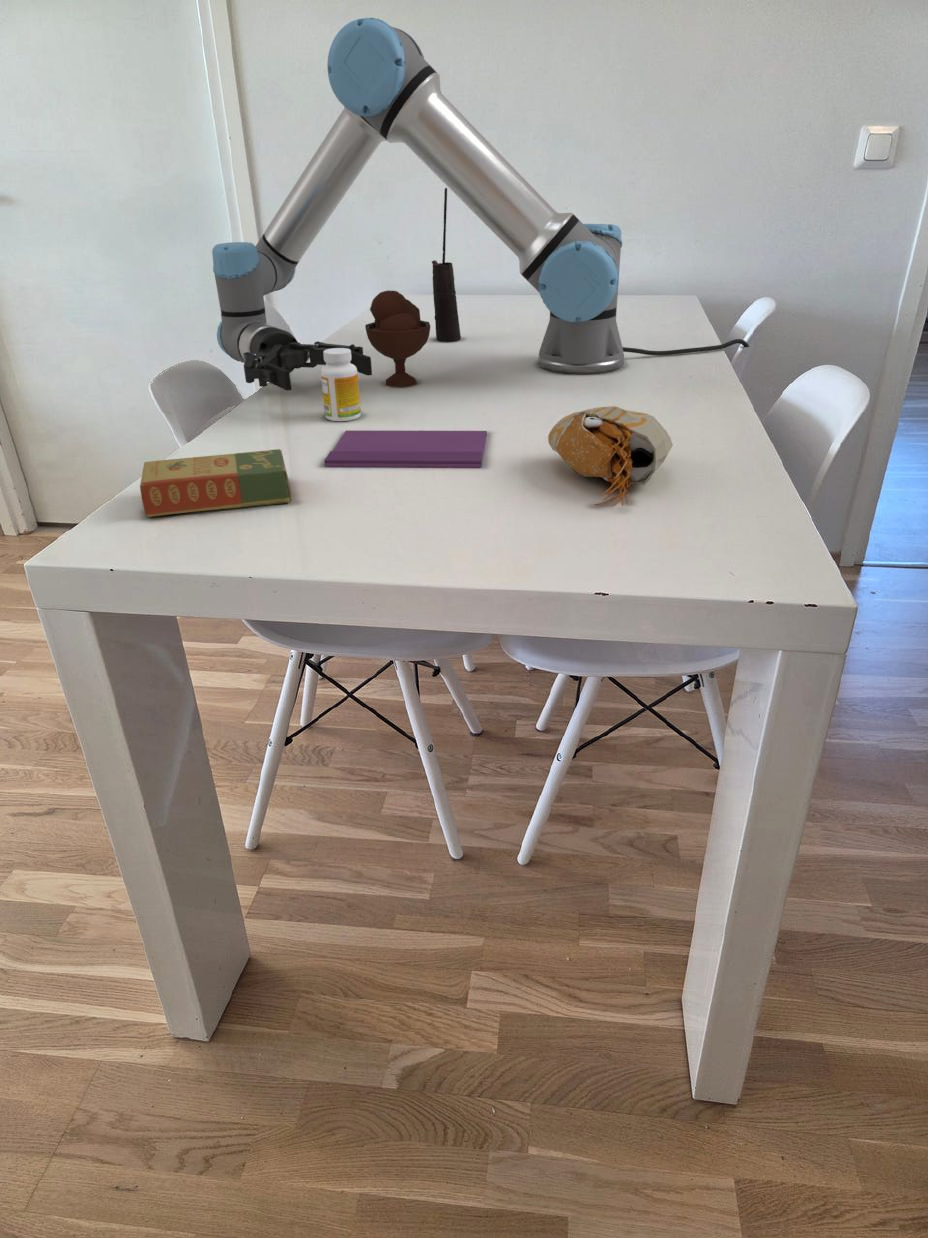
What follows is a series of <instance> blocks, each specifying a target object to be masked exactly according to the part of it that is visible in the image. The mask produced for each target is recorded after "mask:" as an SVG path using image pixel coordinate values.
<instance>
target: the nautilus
mask: <svg viewBox="0 0 928 1238" xmlns="http://www.w3.org/2000/svg"><path fill="white" fill-rule="evenodd" d="M547 440H548V442H547V443H548V445H549V446H550V448H551V450H552V451H554V452H556V453H557V454H558V455H559V457H561V459H562V460H563V461H564V462H565V463H566V464H567V465H568V466H569V467H570V468H571V469H573V471H574V473H577V474H580V475H582V476H583V477H584V478H586V477H588V478H589V477H595V478H602V479H603V480H604V481H606V482H610V483H611V486H610V487H609V488H607V489H606V490H605V491H604V492H602V493H601V494H599V496H600V497H601V496H603V495H605V494H606V493H607V494H608V495H607V496H606V497H605V498H603V499H602V501H603V502H600V503H594V506H600V505H605V504H607V503H609V502H612V501H613V500H616V499H618V498H619V499H618V500H617V501H615V503H614V504H613V505H611V507H615V506H616V505H617V504H619V503H620V502H621V506H622V507H623V506H624V501H623V497H624V496H625V498H626V501H627V502H626V503H629V499H628V497H627V492H628V491H629V488H630V486H631V485H646V484H647V483H648V482H649V480H650V479H651V478H652V476H653V475H654V474H655V473H656V472H657V470H659V468H660V467H661V466H662V464H663V463H664V462H665V460H666V458H667V457H668V455H669V453H670V452H671V450H672V448H673V447H674V444H673V441H672V438H671V436H670V435H669V433H668V431H667V430H666V429H665V427H663V425H662V424H661V423H660V422H659V421H658V419H657V418H656V417H654V415H651V414H650V413H649V414H648V413H645V412H641V411H640V412H639V411H632V410H628V409H624V408H621V407H619V406H615V405H614V406H612V405H611V406H610V405H609V406H600V407H593V408H589V409H585V410H584V409H583V410H580V411H576V412H572V413H571V414H568V415H566V416H564V417H562V418H561V419H560V420H559V421H558V422H556V423H555V424H554V426H552V428H551V430H550V431H549V433H548V435H547ZM612 488H613V489H612ZM617 489H618V491H619V494H618V495H615V496H614V497H612V498H610V499H609V497H611V496H612V495H613V494H614V492H615V491H616V490H617ZM607 499H608V500H607ZM605 500H606V501H605Z"/></svg>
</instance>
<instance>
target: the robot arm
mask: <svg viewBox="0 0 928 1238" xmlns="http://www.w3.org/2000/svg"><path fill="white" fill-rule="evenodd" d="M326 64H327V65H326V66H327V77H328V81H329V85H330V87H331V91H332V92H333V94H334V96H335V97H336V99H337V100H338V102H339V103H340V104H341V105H342V106H343V109H342V111H341V112H340V114H339V115H338V117H337V118H336V119H335V122H334V123H333V124H332V126H331V128H330V130H329V131H328V132H327V134H326V136H325V137H324V139H323V140H322V142H321V143H320V145H319V147H317V149H316V151H315V152H314V154H313V156H312V157H311V159H310V160H309V162H308V164H307V165H306V167H305V168H304V170H303V171H302V172H301V174H300V176H299V177H298V179H297V181H296V182H295V183H294V184H293V185H294V186H293V187H292V188H291V190H290V192H289V193H288V194H287V196H286V198H285V199H284V201H283V202H282V204H281V205H280V207H279V209H278V210H277V211H276V213H275V215H274V217H273V218H272V220H271V221H270V223H269V224H268V226H267V227H266V229H265V230H264V233H263V234H262V236H261V237H260V238H259V240H258V242H257V243H256V244H254V243H253V242H248V241H234V242H233V241H231V242H223V243H218V244H215V245H214V246H213V248H212V250H211V255H212V263H213V265H212V271H213V274H214V279H215V284H216V286H215V287H216V292H217V297H218V302H219V309H220V318H221V321H220V322H219V324H218V327H217V330H216V340H217V345H218V346H219V348H220V349H221V350H222V352H223V353H225V354H226V355H228V356H229V357H230V358H231V359H233V360H234V361H236V362H240V363H242V364H243V371H244V378H245V383H247V384H252V383H255V380H258V386H259V387H260V388H261V387H262V388H265V387H268V383H269V384H271V385H274V386H276V387H278V388H280V389H282V390H284V391H292V381H291V373H292V372H293V371H294V370H295V369H301V368H309V369H310V368H311V369H313V368H315V367H317V366H320V365H321V366H324V365H326V362H325V361H324V355H323V351H324V350H327V349H332V348H347V349H350V350H351V357H352V358H351V359H352V360H351V361H350V363H351V364H353V365H355V366H356V368H357V373H359V374H362V375H365V376H367V377H368V376H369V377H370V376H373V370H372V357H371V356H369V355H366V354H364V347H363V346H356V345H355V344H354V343H352V344H350V345H347V344H334V343H326V342H323V341H322V342H321V341H315V342H313V343H314V344H312V343H311V344H310V343H307V344H306V343H301V342H298V340H297V339H296V337H295V336H294V335H293V334H292V333H290V332H289V331H287V330H284V329H282V328H279V327H276V326H274V325H272V324H268V323H267V314H266V307H265V306H266V305H265V298H264V297H265V296H266V295H269V294H271V293H274V292H279V291H281V290H283V289H285V288H286V287H287V286H288V285H289V284H290V283H291V282H292V281H293V279H294V277H295V274H296V269H297V266H298V264H299V262H300V261H301V259H302V258H303V257H304V255H305V254H306V252H307V251H308V249H309V248H310V247H311V245H312V243H313V242H314V241H315V239H316V238H317V236H318V235H319V233H320V232H321V231H322V229H323V227H324V226H325V225H326V223H327V222H328V221H329V219H330V217H331V216H332V214H333V212H334V211H335V210H336V209H337V207H339V204H340V203H341V201H342V200H343V198H344V197H345V195H346V194H347V192H348V191H349V189H350V188H351V187H352V185H353V184H354V183H355V181H356V179H357V178H358V177H359V175H360V174H361V172H362V171H363V169H364V168H365V166H366V165H367V164H368V162H369V160H370V159H371V158H372V157H373V155H374V153H375V152H376V150H377V149H378V147H379V145H381V143H382V142H386V141H387V143H389V144H393V143H394V144H399V143H401V144H405V146H407V148H409V149H410V151H411V152H412V153H414V154H415V155H416V156H417V157H418V159H420V160H421V161H422V163H424V164H425V165H426V166H427V168H429V169H430V171H431V172H432V173H433V174H434V175H436V177H437V178H439V179H440V181H441V182H442V183H444V185H445V186H446V187H447V188H449V190H450V191H451V192H453V193H454V195H455V196H456V197H457V198H458V199H459V200H460V201H462V203H464V204H465V206H467V208H468V209H469V210H470V211H471V212H472V213H473V214H474V215H475V216H476V217H477V218H478V219H479V220H480V221H481V222H482V223H483V224H484V225H485V226H486V227H487V228H489V229H490V231H491V232H492V233H493V234H494V235H495V236H496V237H497V238H498V239H499V240H500V241H501V242H502V243H503V244H504V245H505V246H506V247H507V248H508V249H509V250H510V251H511V252H512V253H513V254H514V255H515V256H516V257H517V258H518V262H519V263H518V264H519V274H520V275H521V276H522V277H523V278H524V279H525V280H526V281H527V282H528V283H529V284H530V285H531V286H532V287H533V289H534V290H535V291H537V292H538V293H539V296H540V298H541V300H542V302H543V304H544V306H545V307H546V308H547V310H548V311H549V320H548V323H547V326H546V330H545V332H544V336H543V339H542V342H541V344H540V347H539V350H538V357H537V358H538V360H537V361H538V362H537V364H538V365H539V367H541V368H543V369H544V370H547V371H551V372H556V373H564V374H576V375H577V374H582V375H583V374H584V375H586V374H587V375H588V374H601V373H607V372H612V371H616V370H618V369H621V368H622V367H623V366H624V361H625V360H624V359H625V353H633V354H640V355H646V356H647V355H648V356H671V355H681V354H689V353H691V354H692V353H700V352H701V353H702V352H709V351H718V350H723V349H726V348H728V347H731V346H733V345H736V344H740V345H742V346H743V347H744V348H750V345H749V343H748V342H747V341H746V340H744V339H741V338H736V339H731V340H729V341H727V342H724V343H722V344H716V345H709V346H708V345H707V346H700V347H689V348H678V349H670V350H649V349H643V348H635V347H626V346H623V345H622V344H623V343H622V339H621V336H620V332H619V327H618V323H617V310H618V309H617V308H618V298H619V297H618V296H619V295H618V294H619V284H620V283H619V281H620V280H619V279H620V266H621V253H622V251H621V250H622V247H623V239H622V229H621V227H620V226H619V225H617V224H606V223H583V222H582V221H581V219H579V218H578V217H577V216H576V215H575V214H574V213H573V212H558V211H556V209H554V208H553V207H552V206H551V205H550V204H549V202H548V201H547V200H546V199H545V198H544V197H543V196H542V195H541V194H540V193H539V192H538V191H537V190H536V189H535V188H534V187H533V186H532V185H531V184H530V183H529V182H528V181H527V180H526V179H525V177H523V175H521V174H520V172H518V170H517V169H516V168H515V167H514V166H512V164H511V163H510V162H509V161H508V160H507V159H506V158H505V157H504V156H503V155H502V154H501V153H500V152H499V151H498V150H497V149H496V148H495V147H494V146H493V145H492V144H491V142H489V140H487V139H486V137H485V136H484V135H483V134H482V133H481V132H480V131H478V129H477V128H476V127H475V126H474V125H473V124H472V123H471V122H470V121H469V120H468V119H467V118H466V117H465V116H464V115H463V114H462V113H461V112H460V111H459V110H458V108H457V107H455V105H453V104H452V103H451V102H450V100H448V98H447V97H446V96H445V95H444V94H443V93H442V90H441V78H440V74H439V73H438V72H437V71H436V70H435V69H434V68H433V67H432V66H431V64H429V62H428V61H427V60H426V59H425V56H424V53H423V52H422V50H421V48H420V46H419V44H418V43H417V41H416V40H415V39H414V38H413V36H411V35H410V34H408V33H407V32H406V31H404V30H402V29H400V28H397V27H395V26H391V25H390V24H389V23H388V22H386V21H384V20H382V19H379V18H375V17H363V18H357V19H353V20H352V21H350V22H348V23H346V24H345V25H343V26H342V27H341V29H339V31H338V32H337V34H336V35H335V36H334V38H333V40H332V42H331V44H330V47H329V50H328V54H327V63H326ZM308 361H309V362H308Z"/></svg>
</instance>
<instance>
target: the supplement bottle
mask: <svg viewBox="0 0 928 1238" xmlns="http://www.w3.org/2000/svg"><path fill="white" fill-rule="evenodd" d="M323 355H324V361H325V362H326V365H322V367H321V368H320V382H321V391H322V401H323V410H324V416H325V418H326V419H327V420H329V421H331V422H348V421H354V420H357V419H358V418H360V417H361V415H362V409H361V399H360V398H361V397H360V387H359V377H358V375H359V374H358V373H359V372H357V368H356V366H355V365H353V364H351V363H350V361H351V360H352V359H351V358H352V357H351V350H350V349H347V348H332V349H327V350H324V351H323Z"/></svg>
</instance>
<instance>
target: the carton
mask: <svg viewBox="0 0 928 1238" xmlns="http://www.w3.org/2000/svg"><path fill="white" fill-rule="evenodd" d="M141 472H142V473H141V479H140V484H139V489H140V495H141V496H140V497H141V500H142V505H143V510H144V515H145V516H146V517H147V518H150V517H157V516H158V517H160V516H166V515H176V514H184V513H186V514H187V513H194V512H195V513H196V512H202V511H203V512H204V511H216V510H226V509H227V510H228V509H237V508H249V507H251V508H252V507H261V506H270V505H281V504H289V503H290V502H292V500H293V497H292V496H293V495H292V490H291V484H290V480H289V475H288V473H287V468H286V464H285V460H284V456H283V452H282V449H279V448H278V449H276V448H275V449H268V450H267V449H266V450H258V451H256V450H255V451H246V452H245V451H244V452H236V453H225V454H216V455H215V454H214V455H203V456H192V457H182V458H181V457H180V458H170V459H161V460H151V461H144V463H143V467H142V471H141Z"/></svg>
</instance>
